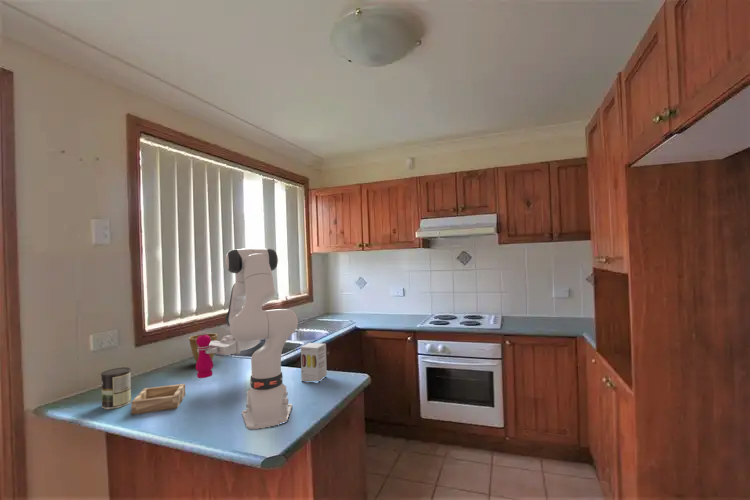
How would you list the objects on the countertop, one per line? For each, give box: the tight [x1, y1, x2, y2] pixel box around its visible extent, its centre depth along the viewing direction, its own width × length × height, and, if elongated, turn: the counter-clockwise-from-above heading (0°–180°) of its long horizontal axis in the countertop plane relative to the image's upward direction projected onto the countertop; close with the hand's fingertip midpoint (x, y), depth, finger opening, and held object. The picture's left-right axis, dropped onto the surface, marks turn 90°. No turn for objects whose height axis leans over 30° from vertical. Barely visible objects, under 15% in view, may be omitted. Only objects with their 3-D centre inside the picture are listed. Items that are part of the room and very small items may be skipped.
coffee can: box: [100, 366, 132, 410], centre depth 155 cm, size 10×10×14 cm
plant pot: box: [188, 333, 218, 363], centre depth 213 cm, size 15×15×16 cm
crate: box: [130, 383, 186, 416], centre depth 153 cm, size 16×16×5 cm
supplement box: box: [300, 342, 328, 381], centre depth 178 cm, size 10×9×17 cm
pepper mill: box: [195, 331, 214, 379], centre depth 166 cm, size 7×7×20 cm
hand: (202, 351), depth 165 cm, fingers closed on pepper mill, 5 cm apart
